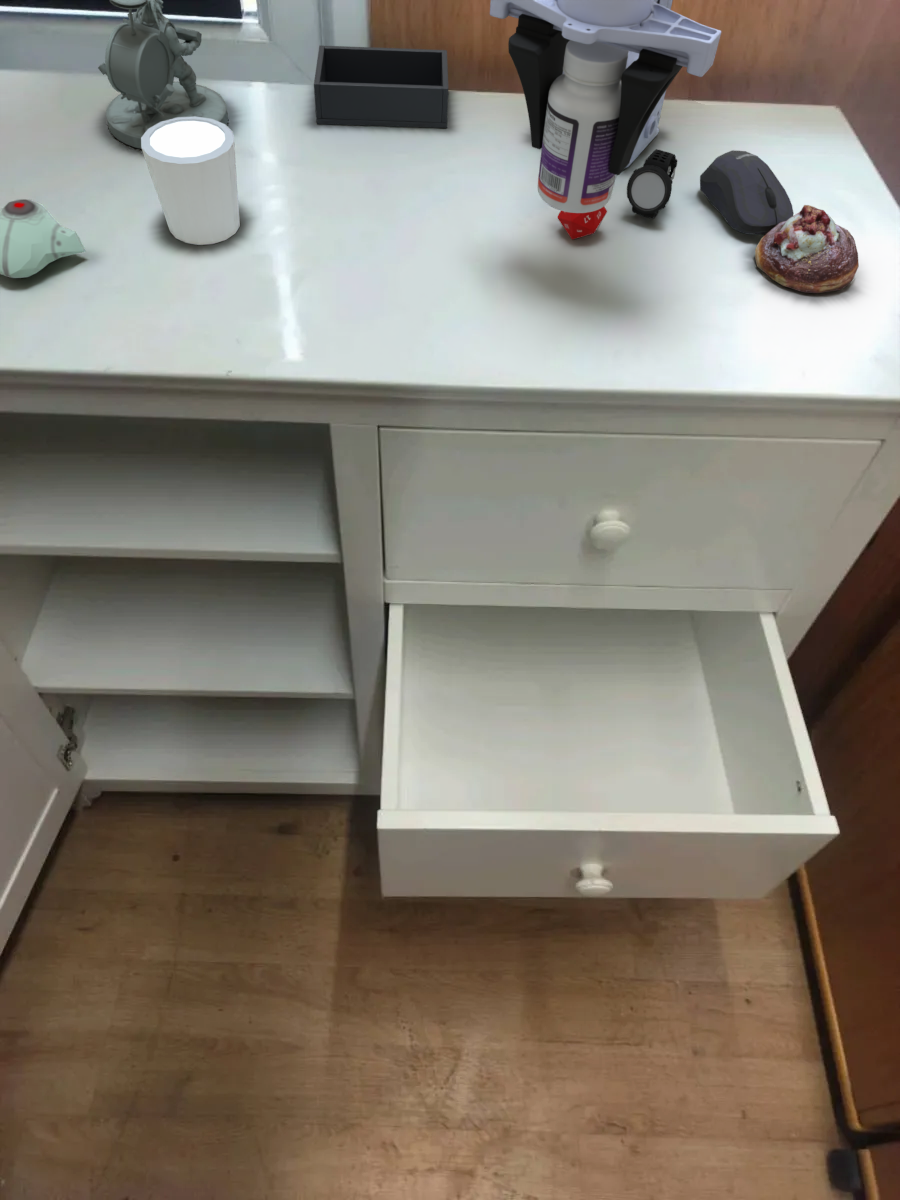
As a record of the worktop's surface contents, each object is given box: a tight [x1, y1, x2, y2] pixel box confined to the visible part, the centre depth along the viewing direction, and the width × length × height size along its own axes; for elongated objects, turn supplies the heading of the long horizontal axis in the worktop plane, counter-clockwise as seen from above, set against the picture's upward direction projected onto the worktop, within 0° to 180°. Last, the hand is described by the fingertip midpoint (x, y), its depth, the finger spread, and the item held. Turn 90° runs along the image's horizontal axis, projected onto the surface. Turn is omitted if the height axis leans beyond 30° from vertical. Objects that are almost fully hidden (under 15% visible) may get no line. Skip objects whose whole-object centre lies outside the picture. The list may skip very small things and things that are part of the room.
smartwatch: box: [626, 148, 678, 220], centre depth 73 cm, size 4×5×5 cm
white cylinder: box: [141, 116, 241, 246], centre depth 69 cm, size 7×7×7 cm
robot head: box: [0, 198, 87, 279], centre depth 66 cm, size 8×4×7 cm
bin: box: [313, 45, 449, 129], centre depth 82 cm, size 12×8×4 cm, turn 91°
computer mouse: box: [699, 149, 795, 235], centre depth 74 cm, size 6×9×4 cm, turn 22°
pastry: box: [754, 204, 859, 294], centre depth 69 cm, size 8×8×5 cm
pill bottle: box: [537, 40, 628, 213], centre depth 60 cm, size 5×5×10 cm
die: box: [556, 206, 608, 240], centre depth 72 cm, size 4×4×4 cm
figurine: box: [97, 0, 229, 150], centre depth 76 cm, size 11×11×12 cm
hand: (579, 154), depth 61 cm, fingers closed on pill bottle, 5 cm apart
